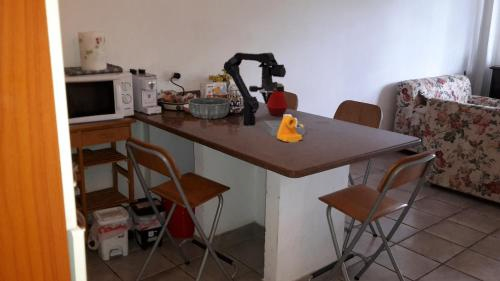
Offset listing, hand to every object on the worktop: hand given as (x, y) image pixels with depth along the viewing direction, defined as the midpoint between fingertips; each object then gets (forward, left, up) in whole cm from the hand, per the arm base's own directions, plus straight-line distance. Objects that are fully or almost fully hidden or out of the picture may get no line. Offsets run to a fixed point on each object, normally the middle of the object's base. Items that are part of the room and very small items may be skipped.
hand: (266, 104), depth 255 cm
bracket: (+6, -30, -13) cm, 33 cm away
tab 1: (+11, -6, -11) cm, 17 cm away
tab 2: (+11, -16, -11) cm, 22 cm away
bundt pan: (-28, +32, -13) cm, 45 cm away
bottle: (+15, +33, -13) cm, 39 cm away
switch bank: (+8, -11, -13) cm, 19 cm away
